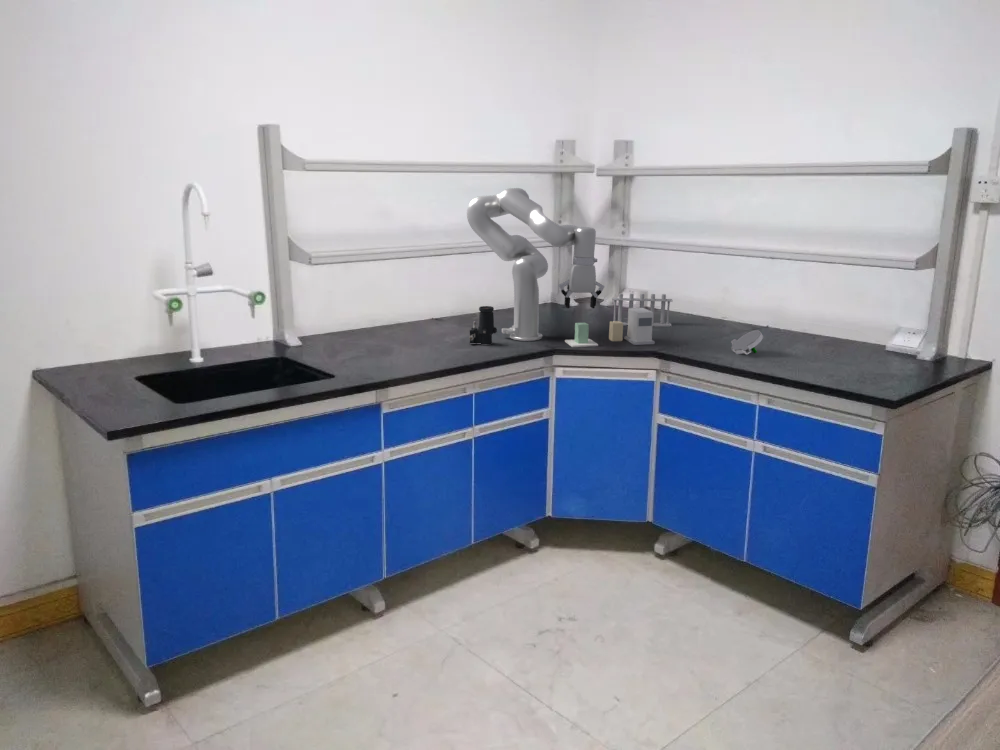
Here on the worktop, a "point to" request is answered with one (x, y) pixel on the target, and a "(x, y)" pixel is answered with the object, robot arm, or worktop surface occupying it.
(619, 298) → the test tube rack
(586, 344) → the mat
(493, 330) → the scope
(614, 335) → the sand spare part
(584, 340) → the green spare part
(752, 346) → the grey tilted oval device
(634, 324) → the bench unit
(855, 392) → the worktop surface
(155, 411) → the worktop surface
